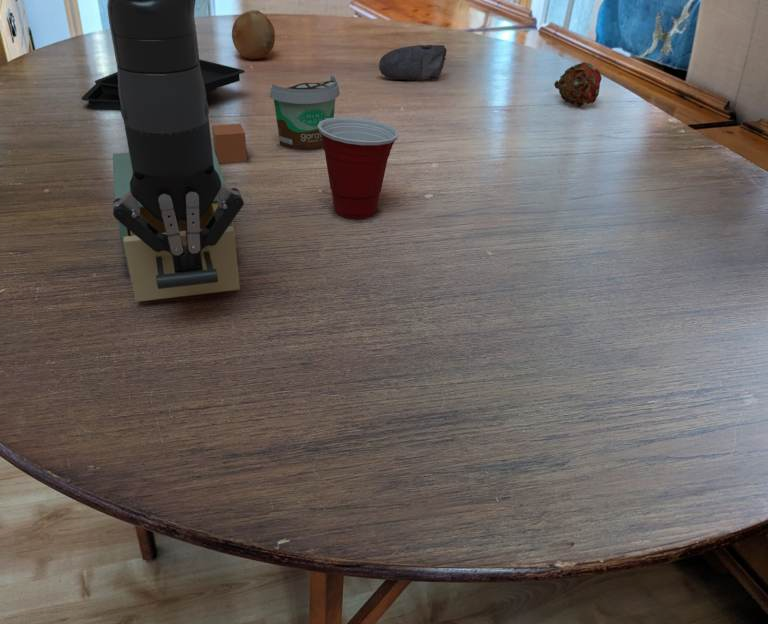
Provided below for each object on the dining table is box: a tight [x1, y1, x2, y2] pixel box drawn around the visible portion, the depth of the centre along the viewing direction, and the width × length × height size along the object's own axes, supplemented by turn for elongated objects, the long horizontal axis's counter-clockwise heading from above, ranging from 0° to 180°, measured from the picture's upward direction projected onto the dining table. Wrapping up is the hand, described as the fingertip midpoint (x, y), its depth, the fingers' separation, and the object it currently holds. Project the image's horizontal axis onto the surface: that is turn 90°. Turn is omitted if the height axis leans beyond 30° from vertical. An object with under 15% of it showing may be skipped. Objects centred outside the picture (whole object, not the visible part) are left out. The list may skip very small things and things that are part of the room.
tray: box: [81, 58, 246, 111], centre depth 139 cm, size 30×23×5 cm
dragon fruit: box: [553, 61, 603, 108], centre depth 146 cm, size 8×8×12 cm
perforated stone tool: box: [378, 44, 447, 81], centre depth 155 cm, size 15×5×7 cm, turn 99°
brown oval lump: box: [231, 9, 276, 61], centre depth 164 cm, size 10×10×10 cm
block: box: [211, 123, 248, 165], centre depth 116 cm, size 5×5×5 cm
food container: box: [269, 75, 341, 151], centre depth 120 cm, size 12×6×10 cm, turn 126°
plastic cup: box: [318, 116, 400, 220], centre depth 99 cm, size 11×11×12 cm
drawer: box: [123, 201, 241, 303], centre depth 82 cm, size 20×11×7 cm, turn 17°
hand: (189, 281), depth 76 cm, fingers closed
